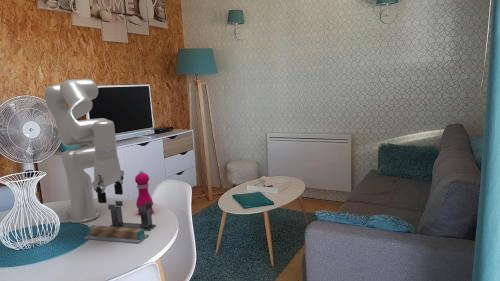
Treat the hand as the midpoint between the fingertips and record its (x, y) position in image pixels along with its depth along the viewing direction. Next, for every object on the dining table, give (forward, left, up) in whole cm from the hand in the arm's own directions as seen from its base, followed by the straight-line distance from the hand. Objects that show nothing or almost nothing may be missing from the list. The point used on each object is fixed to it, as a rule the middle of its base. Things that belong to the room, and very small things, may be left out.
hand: (111, 198), depth 144 cm
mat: (+1, 0, -16) cm, 15 cm away
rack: (+1, +10, -16) cm, 19 cm away
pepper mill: (-3, +26, -16) cm, 31 cm away
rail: (+1, 0, -15) cm, 15 cm away
